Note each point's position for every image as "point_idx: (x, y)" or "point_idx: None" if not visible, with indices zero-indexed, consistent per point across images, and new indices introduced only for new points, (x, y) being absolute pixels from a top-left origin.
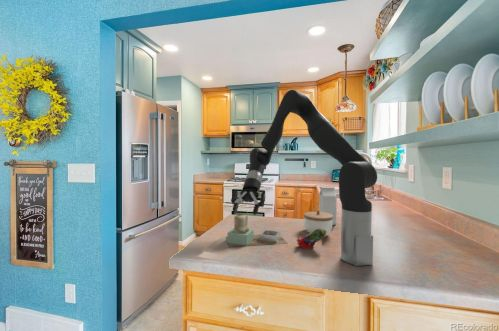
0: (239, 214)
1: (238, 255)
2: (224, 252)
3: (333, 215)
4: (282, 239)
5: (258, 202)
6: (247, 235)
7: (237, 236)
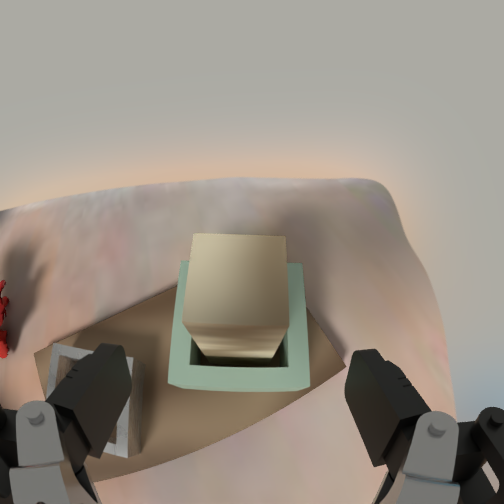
0: (275, 325)
1: None
2: None
3: None
4: None
5: (20, 441)
6: (180, 270)
7: None
